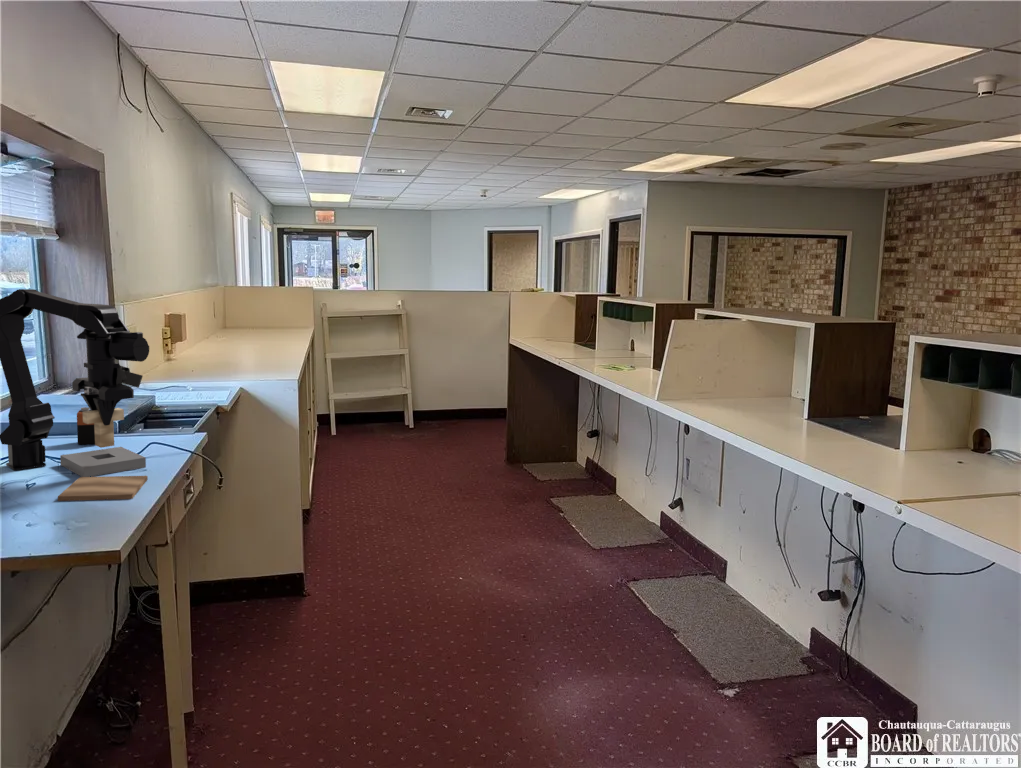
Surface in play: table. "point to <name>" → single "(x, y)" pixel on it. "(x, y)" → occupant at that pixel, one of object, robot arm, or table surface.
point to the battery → (85, 429)
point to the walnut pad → (103, 488)
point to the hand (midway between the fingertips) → (103, 424)
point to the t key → (103, 426)
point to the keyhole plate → (102, 461)
